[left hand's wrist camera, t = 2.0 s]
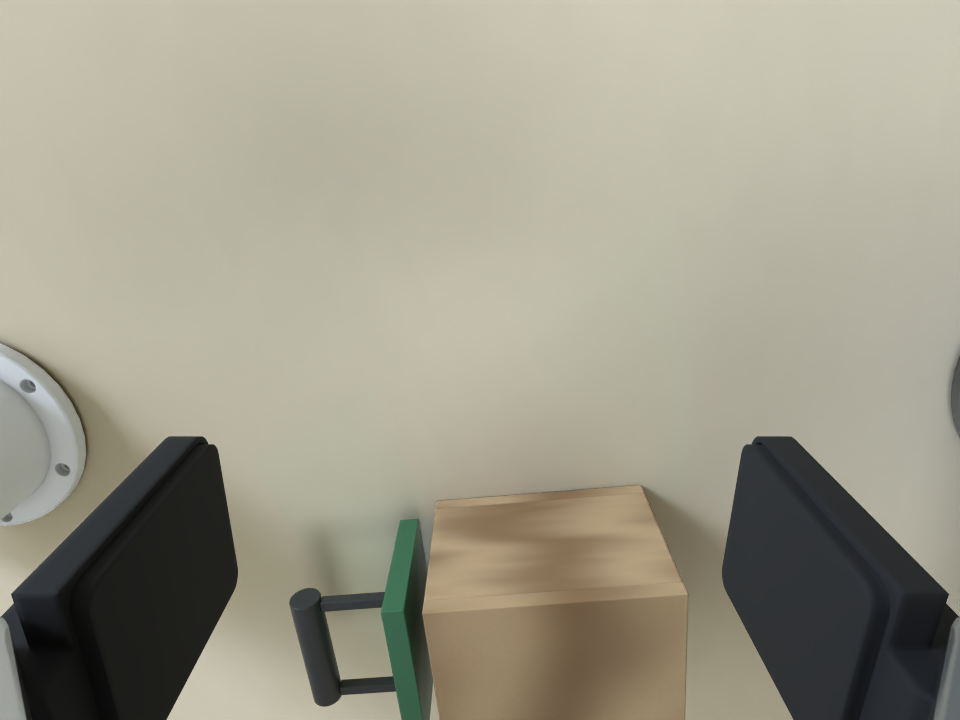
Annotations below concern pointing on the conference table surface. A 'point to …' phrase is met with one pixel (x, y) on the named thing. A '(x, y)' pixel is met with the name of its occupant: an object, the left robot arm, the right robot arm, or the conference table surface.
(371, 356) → the conference table surface
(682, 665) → the pale wooden box
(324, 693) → the drawer
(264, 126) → the conference table surface
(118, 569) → the left robot arm
